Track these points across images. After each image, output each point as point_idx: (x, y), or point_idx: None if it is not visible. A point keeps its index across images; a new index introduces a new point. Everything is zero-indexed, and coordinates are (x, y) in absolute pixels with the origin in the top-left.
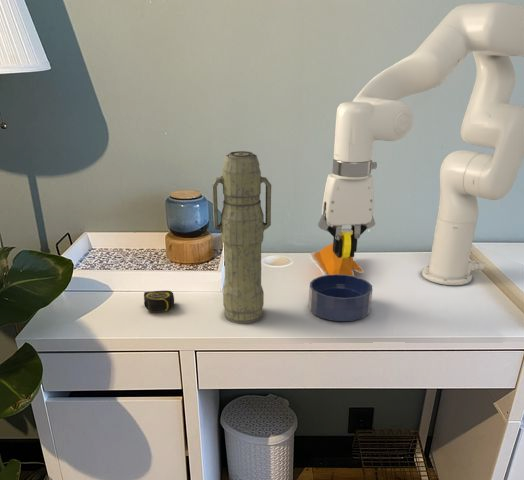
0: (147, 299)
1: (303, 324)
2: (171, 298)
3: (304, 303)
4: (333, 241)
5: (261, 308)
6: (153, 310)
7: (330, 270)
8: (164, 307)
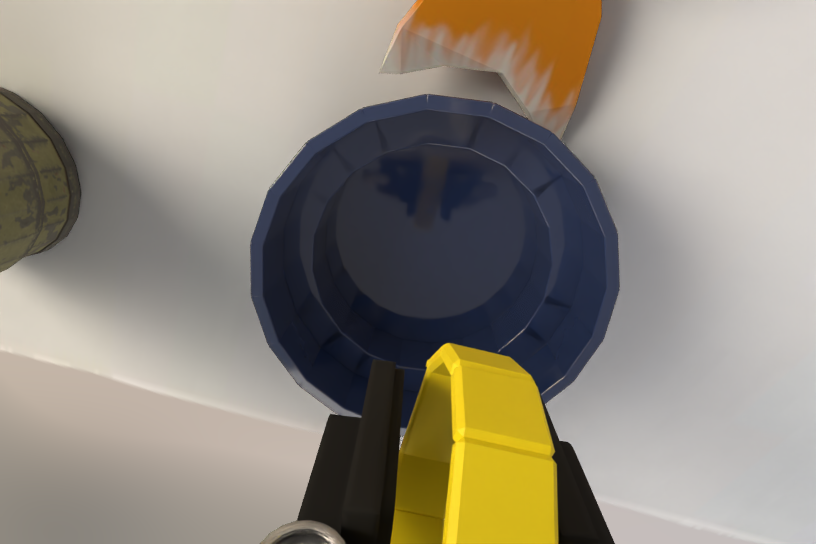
0: None
1: (240, 321)
2: None
3: (297, 127)
4: (306, 494)
5: (36, 237)
6: None
7: None
8: None
